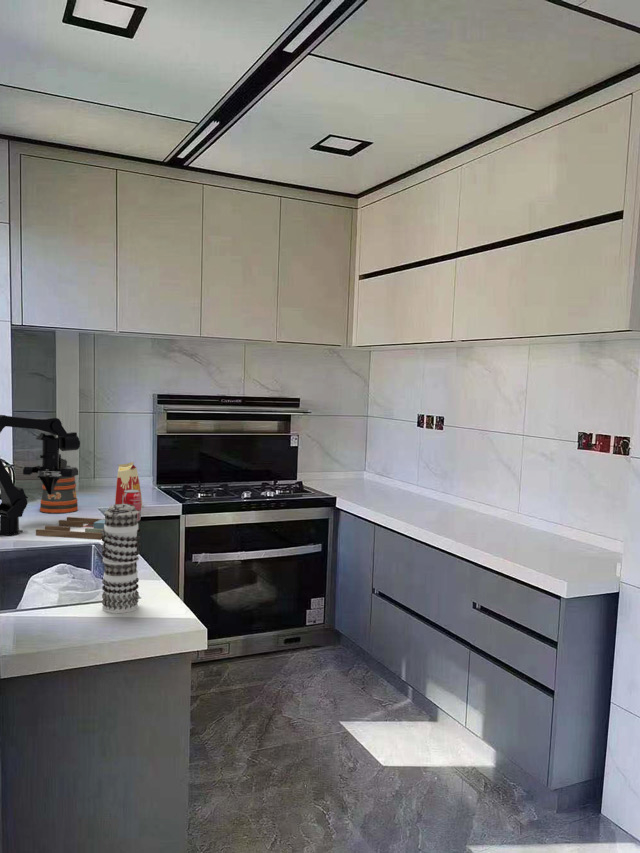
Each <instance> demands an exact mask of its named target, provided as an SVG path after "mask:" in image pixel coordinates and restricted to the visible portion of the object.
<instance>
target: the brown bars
mask: <svg viewBox="0 0 640 853" xmlns="http://www.w3.org/2000/svg"><path fill="white" fill-rule="evenodd" d="M101 519H102V518H92V517H91V518H89V517H78V516H77V517H75V516H74V517H73V516H67V517H66V520H65V519H64V520H63V519H59V520H58V525H57V526H56V525H44V529H43V528H42V529H41V528H40V529H39V528H37V529H35V536H37V537H55V538H57V537H58V538H72V539H74V538H75V539H88V540H101V539H102V538H101V537H102V536H103V535H102V532H101V531H102V530H103V529H95V528H93V527H94V522H96V521H99V520H101ZM103 519H104V520H105V518H103ZM72 527H73V528H84V531H77V530H76V531H73V530H71V528H72ZM105 533H106V532H105Z"/></svg>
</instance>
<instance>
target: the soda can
mask: <svg viewBox="0 0 640 853" xmlns="http://www.w3.org/2000/svg"><path fill="white" fill-rule="evenodd" d="M141 496H142V493H141V494H140V492H139V490H125V491H124V494H123V496H122V504H130V505H133V506H134V507H135V508H136V510H138V511H139V513H138V514H137V517H138V520H137V523H138V522H140V521H141V517H142V508H141Z"/></svg>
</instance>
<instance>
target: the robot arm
mask: <svg viewBox="0 0 640 853" xmlns="http://www.w3.org/2000/svg"><path fill="white" fill-rule="evenodd" d="M62 424H63V423H62V421H61V420H60V418H58V417H49V416H45V417H42V416H41V417H35V418H32V417H31V418H30V417H29V418H28V417H20V416H10V415H5V414H0V434H1V433H2V431H3V430H4V429H5V428H6V427H9V428H22V429H32V430H34V431H39V432H41V433H40V434H39V435H38V436H37V437H36V440H39V441H41V443H42V444H41V447H42V449H41V454H40V455H39V458H40V459H41V465H37V464H36V465H32V464H30V465H26V466H24V467H23V469H22V475H25V476H26V475H27V476H31V475H33V473H34V474H35V473H36V474H38V475H37V478H39V479H40V481H41V482H42V485H43V484H44V486H45V488H46V490H47V492H48V494H49V495H52V493H53V491H54V488H55V485H56V483H57V481H58V479H59V478H60V477H72V476H75V477H76V476H78V475H79V469H78V468H77V467H76V466H73V467H71V466H70V467H66V466H68V465H67V464H68V460H67V459H66V460H64V458H62V454H61V453H60V451H62V452H68V451H69V452H70V451H71V452H72V451H78V450H79V449H80V447H81V441H80V439H79V436H78V434H77V432H76V431H71V432H67V431H66V429H65V428H64V426H63V425H62ZM50 473H51V474H50ZM28 498H29V497H28V496H27V495H26V492H25V490H24V488H23V487H18V486H15V485H14V482H13V480H12V479H11V477H10V474H9V473H8V470H7V469H6V467H5V465H4V463H3V461H2V458H0V501H1V503H0V535H1V536H15V535H19V534H20V533H23V530H22V529H21V530H20V528H19V527H20V525H19V524H20V518H21V517H23V515H24V511H25V509H26V508H27V505H28V503H29V502H28Z"/></svg>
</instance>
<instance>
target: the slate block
mask: <svg viewBox="0 0 640 853" xmlns="http://www.w3.org/2000/svg"><path fill="white" fill-rule="evenodd" d="M100 519H101V520H99V521H96V522H94V527H92V528H95V529H103V528H104V524H105V520H104V519H105V518H100Z"/></svg>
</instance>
